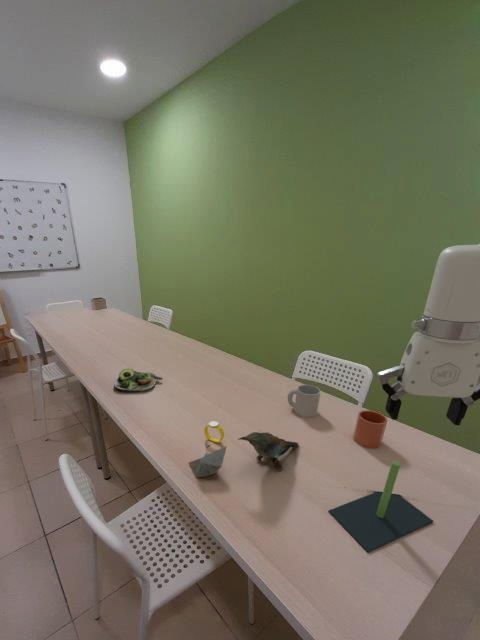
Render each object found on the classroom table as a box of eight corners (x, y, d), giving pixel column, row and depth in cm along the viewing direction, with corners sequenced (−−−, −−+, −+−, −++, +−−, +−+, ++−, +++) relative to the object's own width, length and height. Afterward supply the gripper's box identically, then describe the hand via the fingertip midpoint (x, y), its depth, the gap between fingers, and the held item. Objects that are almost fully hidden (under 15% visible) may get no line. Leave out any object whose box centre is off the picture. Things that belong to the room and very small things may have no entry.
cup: (314, 421, 97) (318, 396, 93) (283, 413, 102) (286, 389, 98) (318, 410, 102) (322, 387, 99) (289, 403, 107) (291, 381, 104)
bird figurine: (282, 433, 90) (262, 394, 77) (310, 452, 82) (293, 411, 70) (253, 467, 87) (227, 431, 74) (279, 489, 79) (256, 453, 67)
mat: (388, 488, 71) (389, 486, 71) (432, 522, 62) (433, 520, 62) (328, 511, 65) (328, 510, 65) (367, 552, 56) (368, 551, 56)
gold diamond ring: (225, 441, 88) (225, 424, 86) (220, 446, 86) (221, 429, 84) (207, 435, 91) (207, 418, 89) (203, 439, 89) (202, 422, 87)
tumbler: (376, 436, 89) (382, 411, 85) (383, 451, 83) (391, 425, 79) (350, 433, 90) (355, 409, 87) (355, 447, 84) (361, 422, 81)
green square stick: (382, 513, 64) (399, 461, 58) (384, 518, 63) (401, 466, 57) (375, 512, 64) (391, 460, 59) (377, 517, 63) (393, 465, 57)
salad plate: (165, 374, 133) (165, 364, 131) (159, 393, 117) (158, 382, 115) (123, 374, 134) (121, 364, 133) (110, 393, 118) (109, 382, 116)
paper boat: (181, 478, 74) (180, 447, 81) (195, 489, 77) (194, 458, 84) (223, 461, 70) (219, 429, 77) (236, 473, 73) (231, 442, 80)
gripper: (396, 333, 47) (374, 425, 54) (533, 336, 43) (491, 435, 49) (381, 320, 54) (363, 404, 60) (498, 323, 49) (465, 412, 56)
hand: (421, 418), depth 55 cm, fingers open, 9 cm apart
